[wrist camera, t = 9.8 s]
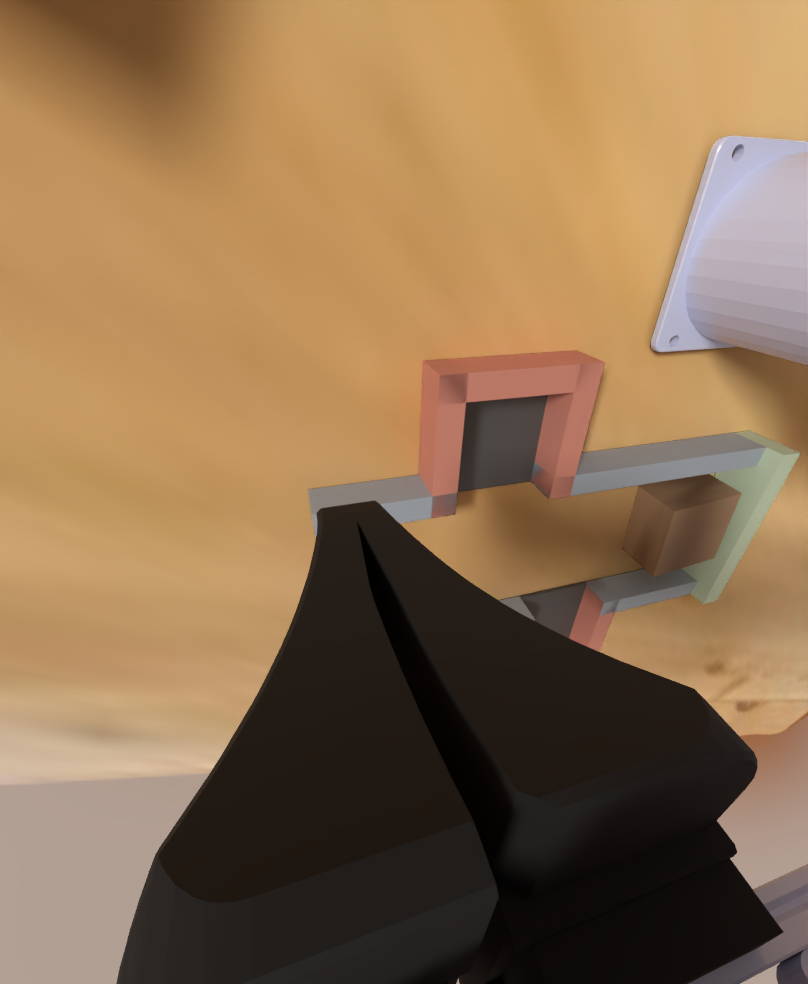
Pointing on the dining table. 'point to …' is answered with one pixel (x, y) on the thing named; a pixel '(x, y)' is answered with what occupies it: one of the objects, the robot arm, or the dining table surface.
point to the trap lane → (564, 473)
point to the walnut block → (679, 522)
